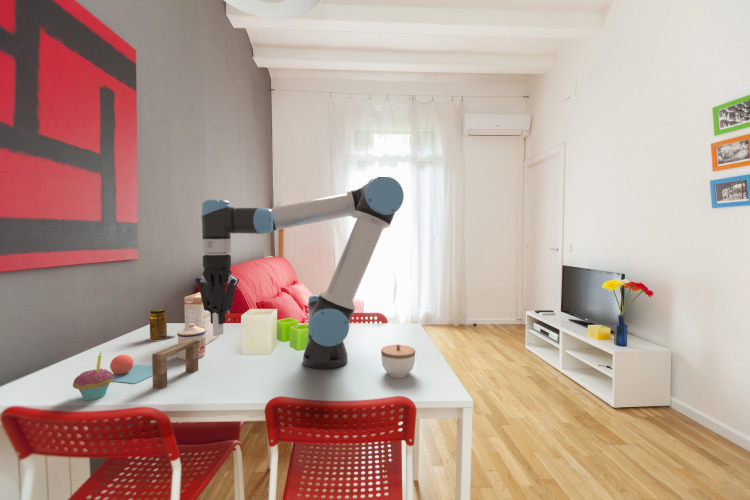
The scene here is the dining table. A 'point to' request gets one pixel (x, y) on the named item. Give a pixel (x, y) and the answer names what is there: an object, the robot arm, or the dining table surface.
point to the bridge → (161, 361)
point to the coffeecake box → (198, 316)
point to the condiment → (158, 325)
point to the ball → (121, 364)
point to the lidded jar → (398, 360)
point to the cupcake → (93, 382)
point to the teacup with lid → (193, 334)
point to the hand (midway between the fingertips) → (218, 334)
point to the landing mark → (134, 374)
